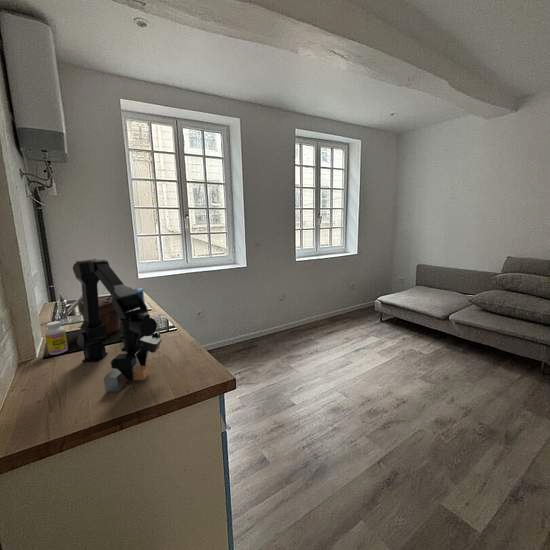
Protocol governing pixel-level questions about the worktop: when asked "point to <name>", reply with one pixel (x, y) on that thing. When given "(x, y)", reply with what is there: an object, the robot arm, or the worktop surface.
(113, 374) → the housing
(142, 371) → the plug
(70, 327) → the worktop surface
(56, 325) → the supplement bottle
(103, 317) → the brown plant pot
